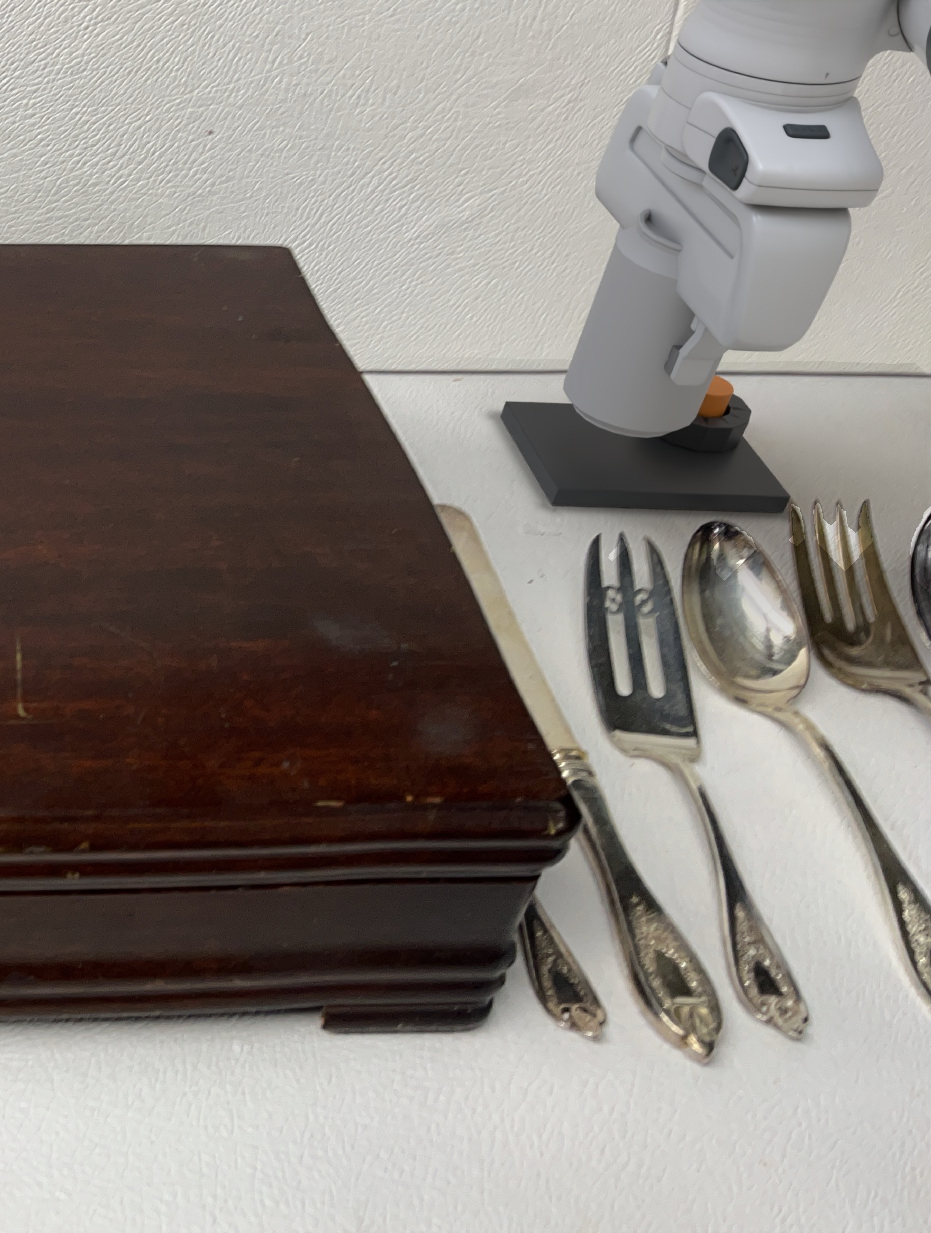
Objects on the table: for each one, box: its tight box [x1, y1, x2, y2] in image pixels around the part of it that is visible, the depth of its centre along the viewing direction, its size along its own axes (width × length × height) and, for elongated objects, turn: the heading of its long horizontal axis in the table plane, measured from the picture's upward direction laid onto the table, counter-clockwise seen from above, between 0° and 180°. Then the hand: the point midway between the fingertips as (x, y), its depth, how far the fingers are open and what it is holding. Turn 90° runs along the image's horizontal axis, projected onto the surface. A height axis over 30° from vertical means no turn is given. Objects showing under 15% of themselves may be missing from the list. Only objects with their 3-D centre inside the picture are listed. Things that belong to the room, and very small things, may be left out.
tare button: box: [697, 375, 735, 418], centre depth 99 cm, size 3×3×2 cm
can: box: [562, 208, 724, 438], centre depth 91 cm, size 8×8×12 cm
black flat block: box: [500, 393, 792, 513], centre depth 98 cm, size 14×10×3 cm
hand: (652, 341), depth 92 cm, fingers closed on can, 7 cm apart
